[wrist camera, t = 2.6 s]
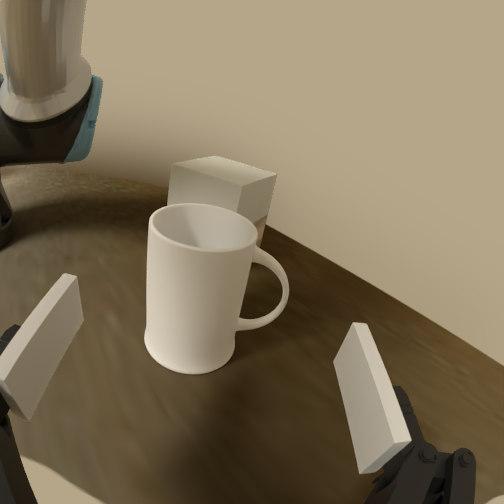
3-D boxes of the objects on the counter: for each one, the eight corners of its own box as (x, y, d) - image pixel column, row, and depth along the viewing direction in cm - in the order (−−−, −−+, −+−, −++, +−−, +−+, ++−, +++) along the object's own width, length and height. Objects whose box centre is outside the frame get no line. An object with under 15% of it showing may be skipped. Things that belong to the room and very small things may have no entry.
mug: (272, 331, 32) (305, 226, 26) (261, 396, 24) (304, 279, 18) (164, 301, 32) (172, 194, 27) (129, 356, 25) (123, 232, 19)
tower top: (166, 208, 39) (171, 163, 36) (209, 193, 47) (216, 155, 45) (232, 235, 36) (242, 185, 33) (267, 214, 44) (277, 174, 41)
